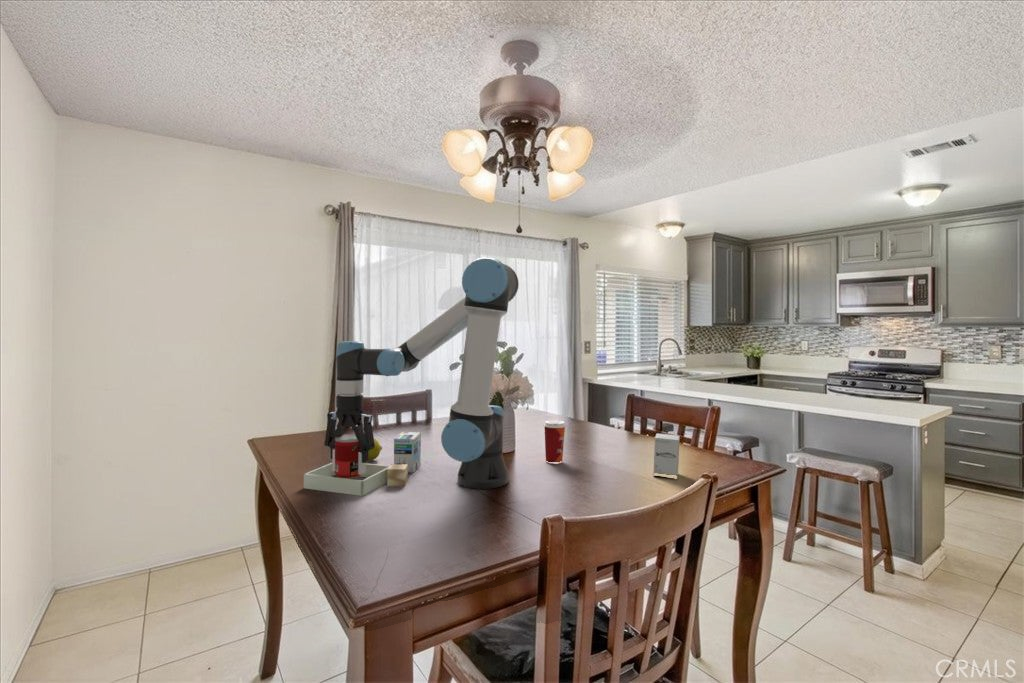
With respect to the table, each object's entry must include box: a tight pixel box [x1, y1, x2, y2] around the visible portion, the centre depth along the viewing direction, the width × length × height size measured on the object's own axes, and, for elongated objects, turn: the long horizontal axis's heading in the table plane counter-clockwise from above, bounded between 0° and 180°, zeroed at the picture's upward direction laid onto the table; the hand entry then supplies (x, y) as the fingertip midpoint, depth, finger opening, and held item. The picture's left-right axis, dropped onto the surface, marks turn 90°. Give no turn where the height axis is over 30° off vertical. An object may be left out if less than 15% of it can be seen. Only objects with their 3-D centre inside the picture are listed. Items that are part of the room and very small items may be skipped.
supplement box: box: [653, 433, 681, 476], centre depth 154 cm, size 7×7×13 cm
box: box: [303, 462, 390, 497], centre depth 141 cm, size 19×15×4 cm
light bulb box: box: [393, 431, 422, 473], centre depth 158 cm, size 11×7×11 cm, turn 179°
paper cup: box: [543, 419, 566, 462], centre depth 167 cm, size 8×8×14 cm
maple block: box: [386, 463, 409, 487], centre depth 142 cm, size 5×5×5 cm
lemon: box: [368, 438, 383, 462], centre depth 165 cm, size 11×8×8 cm
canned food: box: [335, 433, 361, 479], centre depth 141 cm, size 8×8×11 cm
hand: (349, 471), depth 141 cm, fingers closed on canned food, 8 cm apart
